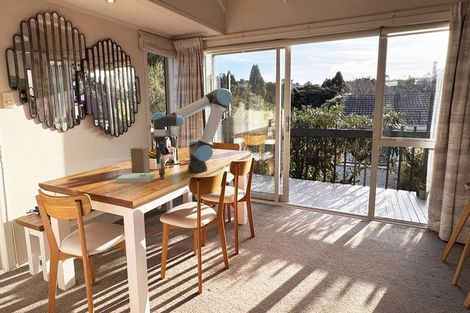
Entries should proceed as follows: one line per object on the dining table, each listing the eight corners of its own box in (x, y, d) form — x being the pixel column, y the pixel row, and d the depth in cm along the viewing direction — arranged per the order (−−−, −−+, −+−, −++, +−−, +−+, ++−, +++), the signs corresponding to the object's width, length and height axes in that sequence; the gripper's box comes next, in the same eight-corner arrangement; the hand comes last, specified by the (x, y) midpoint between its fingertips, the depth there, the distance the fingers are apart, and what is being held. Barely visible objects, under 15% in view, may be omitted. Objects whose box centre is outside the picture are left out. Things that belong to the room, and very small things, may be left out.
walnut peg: (165, 177, 209) (164, 158, 207) (164, 179, 205) (163, 159, 203) (159, 178, 209) (158, 158, 207) (158, 179, 205) (157, 159, 203)
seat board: (155, 177, 212) (155, 172, 211) (150, 182, 198) (149, 177, 198) (124, 177, 212) (123, 173, 211) (116, 182, 198) (116, 178, 197)
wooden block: (144, 175, 217) (142, 148, 213) (131, 175, 219) (129, 148, 215) (150, 172, 226) (149, 146, 223) (138, 171, 228) (136, 146, 225)
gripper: (158, 133, 214) (159, 162, 218) (149, 137, 189) (150, 170, 193) (169, 133, 214) (170, 162, 218) (161, 137, 190) (162, 170, 193)
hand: (161, 166), depth 205 cm, fingers open, 13 cm apart
